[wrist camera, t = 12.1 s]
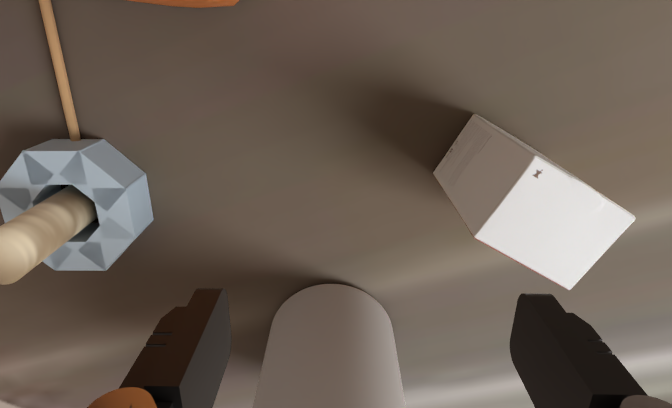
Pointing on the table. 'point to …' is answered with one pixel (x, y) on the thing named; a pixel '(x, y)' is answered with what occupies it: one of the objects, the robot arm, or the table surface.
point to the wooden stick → (59, 69)
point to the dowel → (42, 231)
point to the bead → (95, 182)
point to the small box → (528, 204)
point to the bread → (191, 3)
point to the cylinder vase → (330, 353)
